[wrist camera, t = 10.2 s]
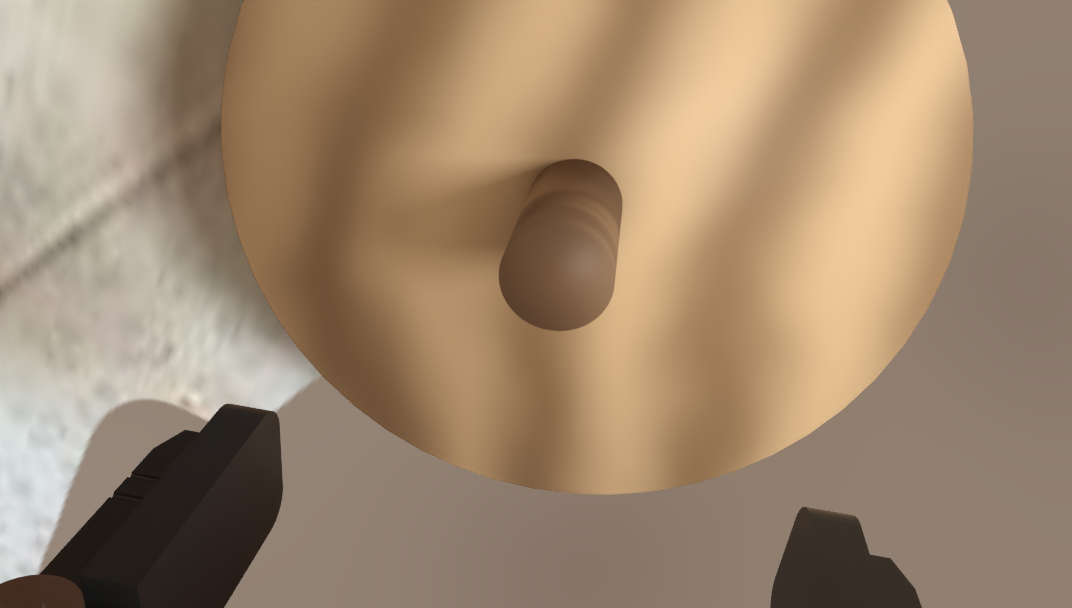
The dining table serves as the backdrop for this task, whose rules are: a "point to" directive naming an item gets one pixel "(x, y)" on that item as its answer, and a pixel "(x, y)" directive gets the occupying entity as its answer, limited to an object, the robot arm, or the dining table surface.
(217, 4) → the dining table surface
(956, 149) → the lid
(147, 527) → the robot arm
